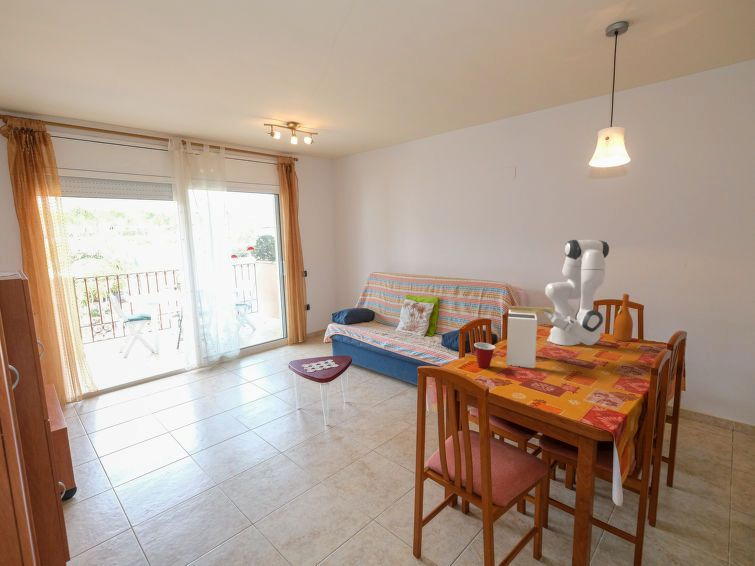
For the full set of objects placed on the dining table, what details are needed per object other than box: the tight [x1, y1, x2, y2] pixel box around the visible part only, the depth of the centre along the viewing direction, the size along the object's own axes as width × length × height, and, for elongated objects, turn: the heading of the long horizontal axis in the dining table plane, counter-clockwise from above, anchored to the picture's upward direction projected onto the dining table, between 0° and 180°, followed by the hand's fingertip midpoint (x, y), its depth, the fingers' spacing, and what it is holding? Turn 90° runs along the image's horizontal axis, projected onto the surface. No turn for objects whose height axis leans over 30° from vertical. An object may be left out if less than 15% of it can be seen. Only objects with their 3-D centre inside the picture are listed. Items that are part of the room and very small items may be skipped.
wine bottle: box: [613, 293, 634, 342], centre depth 229 cm, size 10×10×30 cm
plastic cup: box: [473, 342, 496, 370], centre depth 189 cm, size 11×11×12 cm
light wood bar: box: [510, 305, 555, 315], centre depth 198 cm, size 3×22×3 cm, turn 69°
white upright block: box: [505, 309, 538, 369], centre depth 197 cm, size 21×14×26 cm, turn 159°
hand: (543, 310), depth 196 cm, fingers open, 8 cm apart
